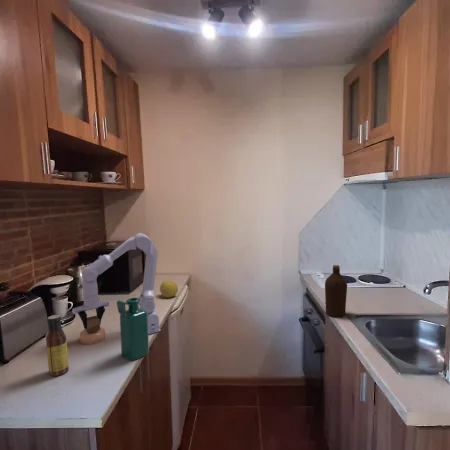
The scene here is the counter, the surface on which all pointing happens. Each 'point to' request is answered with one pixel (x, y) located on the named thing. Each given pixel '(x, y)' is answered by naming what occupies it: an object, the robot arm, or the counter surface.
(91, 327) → the walnut cube
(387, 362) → the counter surface
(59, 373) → the sauce bottle
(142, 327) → the green plastic tall container
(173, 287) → the fruit
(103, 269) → the robot arm
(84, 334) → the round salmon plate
